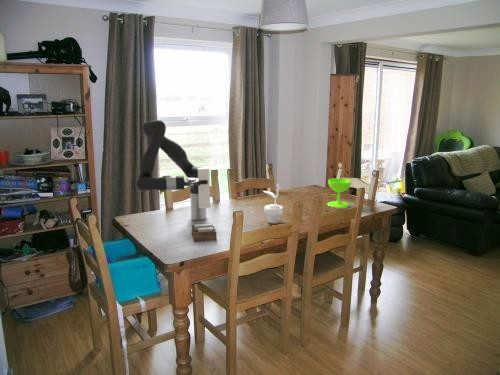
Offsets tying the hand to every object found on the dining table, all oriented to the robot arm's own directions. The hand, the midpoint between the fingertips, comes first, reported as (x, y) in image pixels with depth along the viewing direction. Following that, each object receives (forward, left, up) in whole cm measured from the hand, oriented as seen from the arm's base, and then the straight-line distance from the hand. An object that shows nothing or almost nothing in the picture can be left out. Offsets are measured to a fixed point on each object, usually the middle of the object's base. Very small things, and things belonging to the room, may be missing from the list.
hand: (207, 181), depth 212 cm
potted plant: (-36, +24, -31) cm, 53 cm away
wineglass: (-92, +51, -31) cm, 110 cm away
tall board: (+1, -1, -15) cm, 15 cm away
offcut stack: (+7, +2, -29) cm, 29 cm away
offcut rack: (+5, 0, -31) cm, 31 cm away
